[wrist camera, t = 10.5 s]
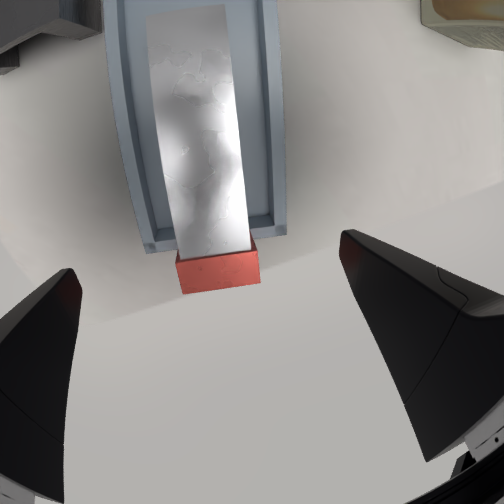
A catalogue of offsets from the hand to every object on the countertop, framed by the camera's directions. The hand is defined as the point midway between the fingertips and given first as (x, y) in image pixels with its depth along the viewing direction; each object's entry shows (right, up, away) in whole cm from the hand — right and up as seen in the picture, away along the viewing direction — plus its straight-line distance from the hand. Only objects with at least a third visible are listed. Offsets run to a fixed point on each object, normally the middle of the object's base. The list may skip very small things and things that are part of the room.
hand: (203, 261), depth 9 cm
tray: (-2, +10, +8) cm, 13 cm away
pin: (-2, +7, +8) cm, 10 cm away
